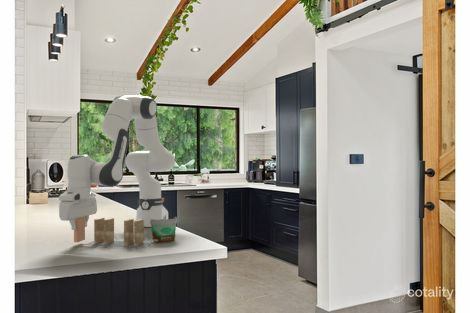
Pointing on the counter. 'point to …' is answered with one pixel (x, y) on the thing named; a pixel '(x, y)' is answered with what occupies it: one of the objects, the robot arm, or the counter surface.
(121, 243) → the flat board
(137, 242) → the maple domino
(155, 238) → the food container
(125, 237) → the maple domino
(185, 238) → the counter surface
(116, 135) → the robot arm
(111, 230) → the maple domino
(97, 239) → the maple domino
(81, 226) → the terracotta domino
